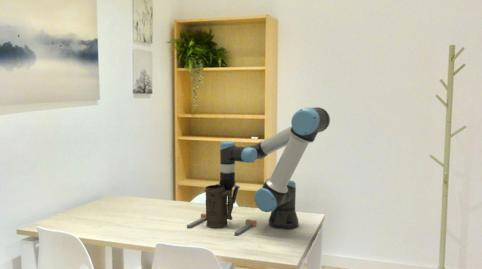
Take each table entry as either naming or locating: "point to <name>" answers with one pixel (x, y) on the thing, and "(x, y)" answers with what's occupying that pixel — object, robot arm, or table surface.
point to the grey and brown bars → (248, 225)
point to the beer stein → (217, 206)
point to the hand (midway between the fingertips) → (227, 217)
